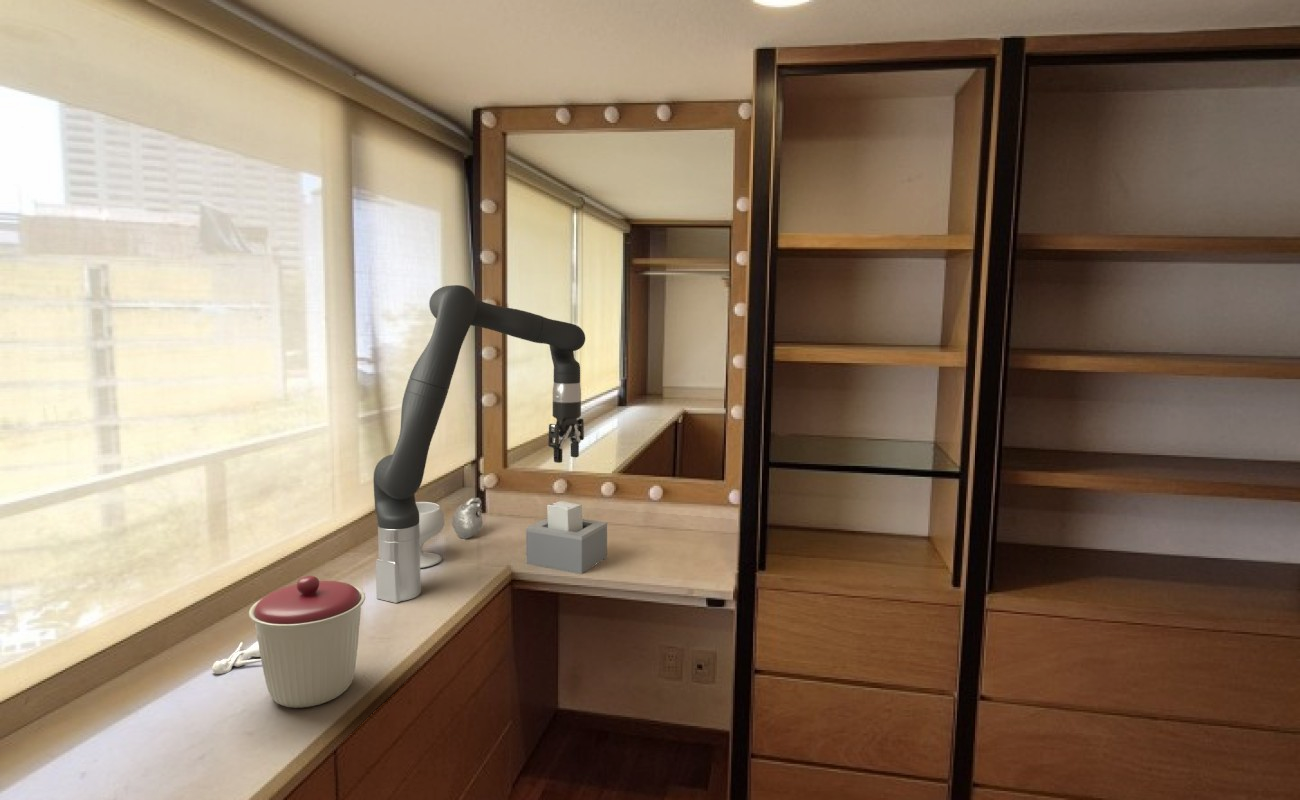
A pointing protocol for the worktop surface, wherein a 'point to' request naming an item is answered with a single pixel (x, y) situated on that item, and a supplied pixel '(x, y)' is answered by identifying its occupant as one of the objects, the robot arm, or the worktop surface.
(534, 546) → the open gray box
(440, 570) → the worktop surface
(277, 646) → the canister
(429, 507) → the chalice
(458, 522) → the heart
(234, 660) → the woman figurine
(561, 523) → the skincare box
